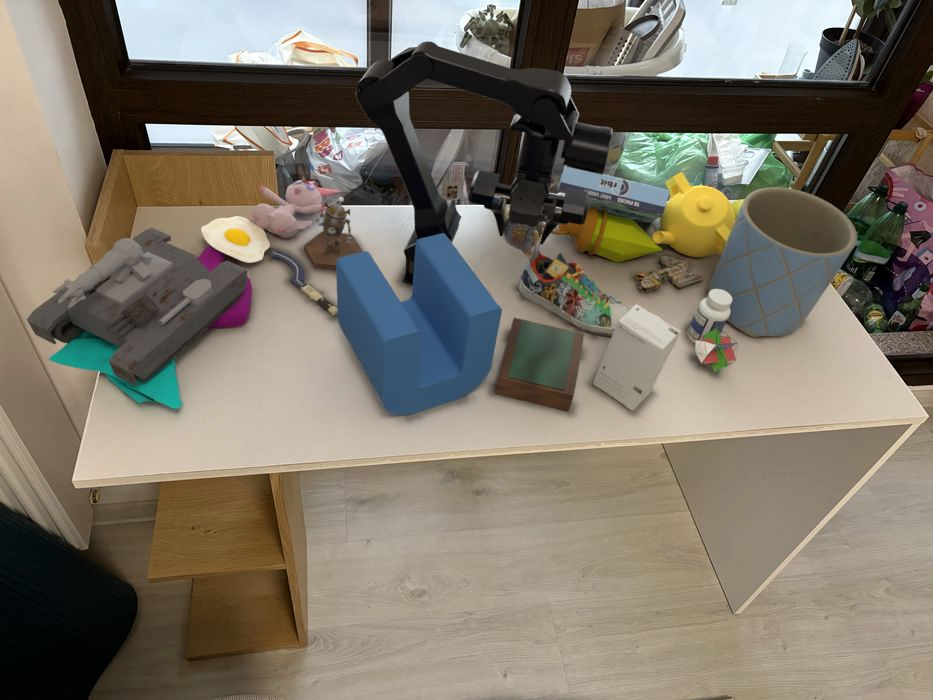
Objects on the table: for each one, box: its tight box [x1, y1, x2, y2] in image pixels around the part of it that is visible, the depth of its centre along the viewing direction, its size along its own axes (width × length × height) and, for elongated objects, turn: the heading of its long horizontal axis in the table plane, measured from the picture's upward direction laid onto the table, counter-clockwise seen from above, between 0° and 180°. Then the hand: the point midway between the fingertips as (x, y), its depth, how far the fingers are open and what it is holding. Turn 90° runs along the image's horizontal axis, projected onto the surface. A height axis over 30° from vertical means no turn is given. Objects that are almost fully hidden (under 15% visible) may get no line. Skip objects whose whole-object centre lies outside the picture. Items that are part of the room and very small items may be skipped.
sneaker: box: [517, 249, 630, 337], centre depth 128 cm, size 8×21×10 cm, turn 60°
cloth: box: [48, 330, 183, 410], centre depth 112 cm, size 26×14×2 cm, turn 66°
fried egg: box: [200, 215, 271, 264], centre depth 132 cm, size 12×12×1 cm
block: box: [335, 233, 503, 416], centre depth 112 cm, size 18×18×18 cm
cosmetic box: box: [592, 303, 682, 411], centre depth 115 cm, size 8×6×15 cm
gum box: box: [557, 165, 670, 223], centre depth 143 cm, size 20×5×23 cm
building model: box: [634, 255, 704, 294], centre depth 140 cm, size 15×9×2 cm, turn 128°
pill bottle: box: [686, 289, 732, 344], centre depth 127 cm, size 5×5×10 cm
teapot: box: [651, 171, 735, 258], centre depth 143 cm, size 20×18×11 cm
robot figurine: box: [303, 196, 364, 270], centre depth 131 cm, size 11×9×12 cm
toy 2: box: [248, 179, 343, 239], centre depth 140 cm, size 15×7×20 cm
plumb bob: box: [542, 206, 663, 263], centre depth 141 cm, size 9×9×25 cm
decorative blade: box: [269, 248, 338, 317], centre depth 130 cm, size 21×1×5 cm
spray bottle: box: [196, 233, 253, 330], centre depth 126 cm, size 3×11×24 cm
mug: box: [502, 206, 545, 260], centre depth 122 cm, size 12×7×7 cm, turn 8°
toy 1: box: [26, 227, 248, 386], centre depth 111 cm, size 25×20×15 cm
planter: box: [707, 187, 858, 338], centre depth 130 cm, size 19×19×20 cm
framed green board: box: [493, 317, 585, 413], centre depth 119 cm, size 12×14×4 cm
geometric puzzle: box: [693, 327, 739, 374], centre depth 124 cm, size 7×7×8 cm
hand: (521, 239), depth 123 cm, fingers closed on mug, 6 cm apart
